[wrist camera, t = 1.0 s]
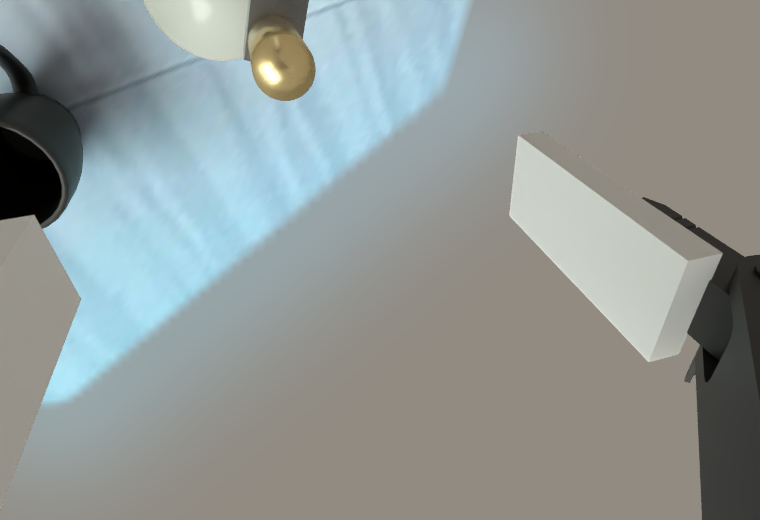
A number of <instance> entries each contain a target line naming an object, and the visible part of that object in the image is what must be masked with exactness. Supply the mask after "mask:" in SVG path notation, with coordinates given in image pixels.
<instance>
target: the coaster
mask: <svg viewBox="0 0 760 520" xmlns="http://www.w3.org/2000/svg"><path fill="white" fill-rule="evenodd" d="M143 1H144V3H145V6H146V8H147V10H148V12H149V14H150V15H151V17H152V19H153V20H154V22H155V23H156V24H157V26H158V27H159V28H160V30H161V31H162V32H163V33H164V34H165V35H166V36H167V37H168V38H169V39H170V40H171V41H173V42H174V43H175V44H176V45H178V46H179V47H181V48H182V49H184V50H186V51H187V52H189V53H191V54H194V55H196V56H198V57H201V58H205V59H209V60H216V61H230V60H237V59H240V58H244V54H243V47H244V38H245V28H246V19H247V9H248V0H143Z"/></svg>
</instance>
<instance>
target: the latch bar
mask: <svg viewBox="0 0 760 520" xmlns="http://www.w3.org/2000/svg"><path fill="white" fill-rule="evenodd" d="M308 2H309V0H248V9H247V19H246V28H245V38H244V47H243V54H244V60H248V61H251V66H252V72H253V76H254V79H255V81H256V83H257V85H258V86H259V88H260V89H261V90H262V91H263V92H264V93H265V94H266V95H268V96H269V97H271V98H274V99H276V100H281V101H290V100H294V99H297V98H299V97H301V96H302V95H304V94H305V93H306V92H307V91H308V90H309V88H310V87H311V85H312V83H313V81H314V77H315V62H314V59H313V56H312V54H311V52H310V51H309V49H308V47H307V46H306V44H305V43H304V41H303V40H302V39H303V33H304V26H305V20H306V14H307V8H308Z"/></svg>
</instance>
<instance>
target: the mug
mask: <svg viewBox="0 0 760 520" xmlns="http://www.w3.org/2000/svg"><path fill="white" fill-rule="evenodd" d="M0 66H1V67H2V68H3V69H4V70H5V72H6V73H7V74H8V76H9V78H10V80H11V83H12V86H13V92H14V93H4V94H0V220H6V219H12V218H18V217H24V216H30V215H35V217H36V219H37V221H38V222H39V224H40V226H41V228H42V229H43V228H45V227H48V226H49V225H50V224H52V223H53V222H54V221H56V220H57V219H58V218H59V217H60V216H61V214H62V213H63V212H64V210H65V209H66V207H67V205H68V204H69V202H70V200H71V198H72V196H73V195H74V193H75V191H76V189H77V186H78V183H79V180H80V177H81V173H82V164H83V148H82V142H81V138H80V130H79V126H78V124H77V122H76V120H75V118H74V117H73V116H72V114H71V113H70V112H69V111H68V110H67V109H66V108H65V107H64V106H63V105H62V104H60V103H58V102H57V101H55V100H54V99H51V98H49V97H47V96H44V95H40V94H38V91H37V86H36V82H35V80H34V78H33V76H32V74H31V73H30V72H29V70H28V69H27V68H26V67H25V66H24V65H23V64H22V63H21V62H20V61H19V60H18V59H17V58H16V57H15V56H14V55H12V54H11V53H10V52H9V51H8V50H7V49H6V48H4V47H3V46H2V45H0Z"/></svg>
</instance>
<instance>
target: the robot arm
mask: <svg viewBox="0 0 760 520" xmlns="http://www.w3.org/2000/svg"><path fill="white" fill-rule="evenodd" d="M509 216H510V217H511V218H512V219H513V220H514V221H515V222H516V223H517V224H518V225H519V226H520V228H522V230H523V231H524V232H525V233H526V234H527V235H528V236H529V237H530V238H531V239H532V240H533V241H534V242H535V243H536V244H537V245H538V246H539V247H540V248H541V250H542V251H543V252H544V253H545V254H546V255H547V256H548V257H549V258H550V259H551V260H552V261H553V262H554V263H555V264H556V265H557V266H558V267H559V268H560V270H562V271H563V273H564V274H565V275H566V276H567V277H568V278H569V279H570V280H571V281H572V282H573V283H574V284H575V285H576V286H577V287H578V288H579V289H580V290H581V292H583V294H585V296H586V297H587V298H588V299H589V300H590V301H591V302H592V303H593V304H594V305H595V306H596V307H597V308H598V309H599V310H600V311H601V313H602V314H603V315H604V316H605V317H606V318H607V319H608V320H609V321H610V322H611V323H612V324H613V325H614V326H615V327H616V328H617V329H618V330H619V331H620V333H621V334H622V335H623V336H624V337H625V338H626V339H627V340H628V341H629V342H630V343H631V344H632V345H633V346H634V347H635V348H636V349H637V350H638V351H639V352H640V354H641V355H642V356H643V357H644V358H645V359H646V360H647V361H648V362H651V361H655V360H658V359H663V358H666V357H670V356H674V355H678V354H679V353H680V350H681V348H682V346H683V343H684V341H685V339H686V337H687V334H689V335H690V336H691V337H692V338H693V339H694V340H696V341H697V342H698V343H699V344H700V346H699V348H698V350H697V353H696V355H695V357H694V359H693V361H692V363H691V365H690V368H689V370H688V372H687V374H686V377H685V380H684V381H685V382H689V383H690V381H691V379H692V377H693V376H694V375H696V390H697V412H698V435H699V458H700V479H701V502H702V520H760V255H754V256H747V257H744V256H742V255H740V254H739V253H737V252H736V251H735V250H733V249H731V248H730V247H728V246H727V245H725V244H724V243H722V242H721V241H719V240H718V239H716V238H715V237H713V236H712V235H710V234H708V233H707V232H706V231H704V230H702V229H701V228H699V227H698V228H696V226H695V224H693V223H691V222H690V221H689V220H687V219H686V218H685V219H682V216H681V215H679V214H678V213H676V212H675V211H673V210H672V209H670V208H669V207H667V206H666V205H663V204H660V203H658V202H655V201H652V200H650V199H647V198H644V197H643V198H640V197H639V196H637V195H636V194H634V193H633V192H631V191H630V190H628V189H627V188H625V187H624V186H622V185H621V184H619V183H618V182H617V181H615V180H613V179H612V178H611V177H609V176H607V175H606V174H605V173H603V172H602V171H600V170H599V169H597V168H596V167H594V166H593V165H591V164H590V163H588V162H587V161H585V160H584V159H582V158H581V157H579V156H578V155H576V154H575V153H573V152H572V151H570V150H569V149H567V148H566V147H565V146H563V145H562V144H560V143H559V142H557V141H556V140H554V139H553V138H551V137H550V136H548V135H547V134H545V133H544V132H542V131H540V132H534V133H528V134H522V135H518V143H517V151H516V160H515V169H514V177H513V186H512V195H511V205H510V214H509ZM80 300H81V298H80V296H79V294H78V293H77V291H76V289H75V287H74V285H73V284H72V282H71V280H70V278H69V276H68V275H67V273H66V271H65V269H64V267H63V266H62V264H61V262H60V260H59V258H58V257H57V255H56V253H55V251H54V249H53V248H52V246H51V244H50V242H49V240H48V239H47V237H46V235H45V233H44V231H43V230H42V228H41V226H40V224H39V222H38V221H37V219H36V217H35V215H30V216H24V217H18V218H12V219H6V220H0V509H1V507H2V504H3V501H4V499H5V496H6V494H7V491H8V488H9V486H10V483H11V480H12V478H13V475H14V473H15V470H16V468H17V465H18V462H19V460H20V457H21V454H22V452H23V449H24V446H25V444H26V441H27V439H28V436H29V433H30V431H31V428H32V426H33V423H34V420H35V418H36V415H37V413H38V410H39V407H40V405H41V402H42V400H43V397H44V394H45V392H46V389H47V387H48V384H49V381H50V379H51V376H52V374H53V371H54V368H55V366H56V363H57V361H58V358H59V355H60V353H61V350H62V347H63V345H64V342H65V340H66V337H67V334H68V332H69V329H70V327H71V324H72V321H73V319H74V316H75V314H76V311H77V308H78V306H79V303H80Z"/></svg>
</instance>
